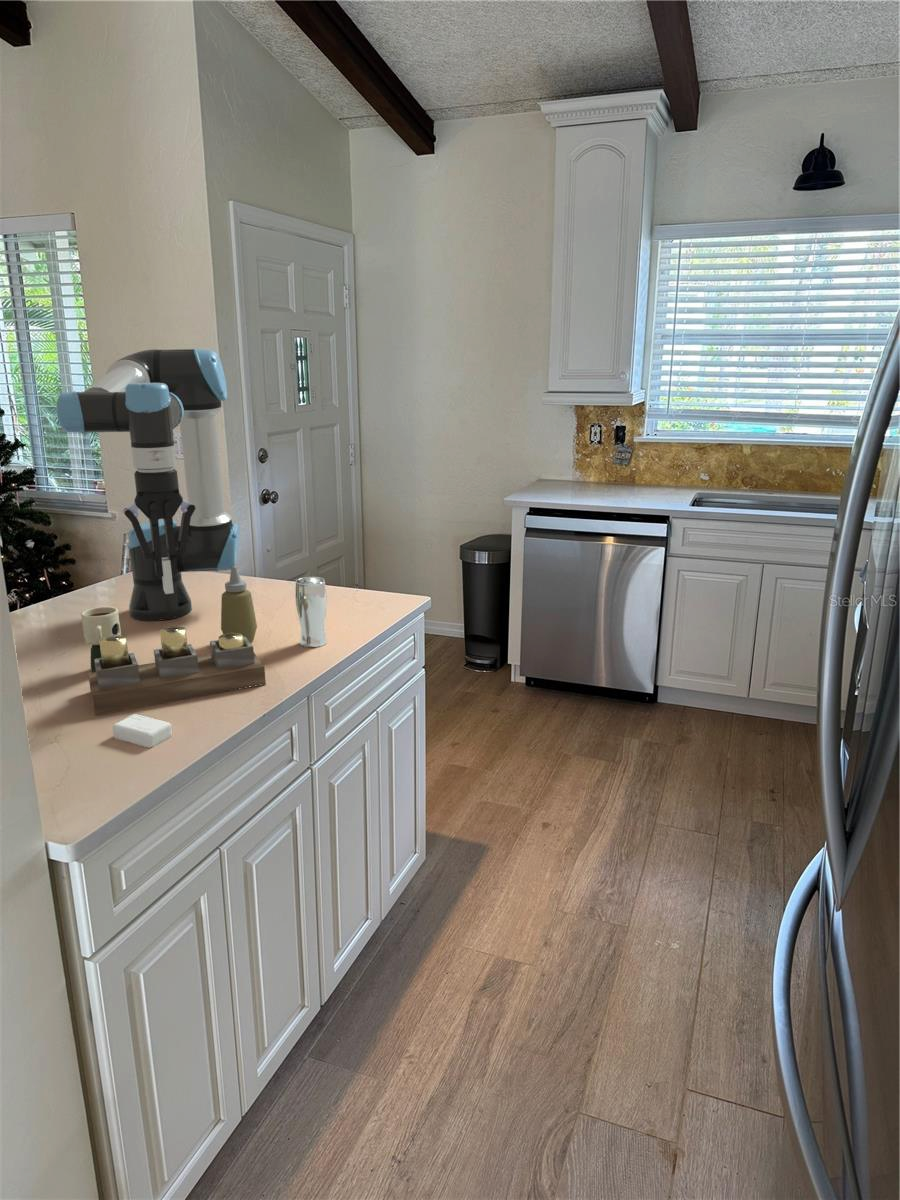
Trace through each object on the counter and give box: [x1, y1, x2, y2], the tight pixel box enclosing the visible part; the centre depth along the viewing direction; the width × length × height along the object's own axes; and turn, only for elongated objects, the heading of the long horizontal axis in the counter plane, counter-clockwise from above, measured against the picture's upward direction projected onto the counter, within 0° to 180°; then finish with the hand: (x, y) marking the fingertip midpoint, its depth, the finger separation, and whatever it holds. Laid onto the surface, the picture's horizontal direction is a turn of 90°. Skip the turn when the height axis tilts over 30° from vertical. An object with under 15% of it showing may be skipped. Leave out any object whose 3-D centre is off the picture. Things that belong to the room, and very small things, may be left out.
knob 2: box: [218, 633, 244, 651], centre depth 168 cm, size 5×5×5 cm
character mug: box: [80, 606, 122, 672], centre depth 173 cm, size 11×7×13 cm, turn 16°
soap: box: [112, 713, 173, 749], centre depth 144 cm, size 9×6×3 cm, turn 64°
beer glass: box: [294, 576, 328, 648], centre depth 188 cm, size 7×7×15 cm
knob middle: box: [159, 625, 188, 659], centre depth 162 cm, size 5×5×5 cm
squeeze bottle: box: [220, 566, 258, 644], centre depth 188 cm, size 8×8×18 cm
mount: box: [87, 636, 267, 716], centre depth 164 cm, size 12×32×8 cm, turn 116°
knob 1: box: [99, 634, 129, 668], centre depth 158 cm, size 5×5×5 cm
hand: (168, 591), depth 159 cm, fingers closed
